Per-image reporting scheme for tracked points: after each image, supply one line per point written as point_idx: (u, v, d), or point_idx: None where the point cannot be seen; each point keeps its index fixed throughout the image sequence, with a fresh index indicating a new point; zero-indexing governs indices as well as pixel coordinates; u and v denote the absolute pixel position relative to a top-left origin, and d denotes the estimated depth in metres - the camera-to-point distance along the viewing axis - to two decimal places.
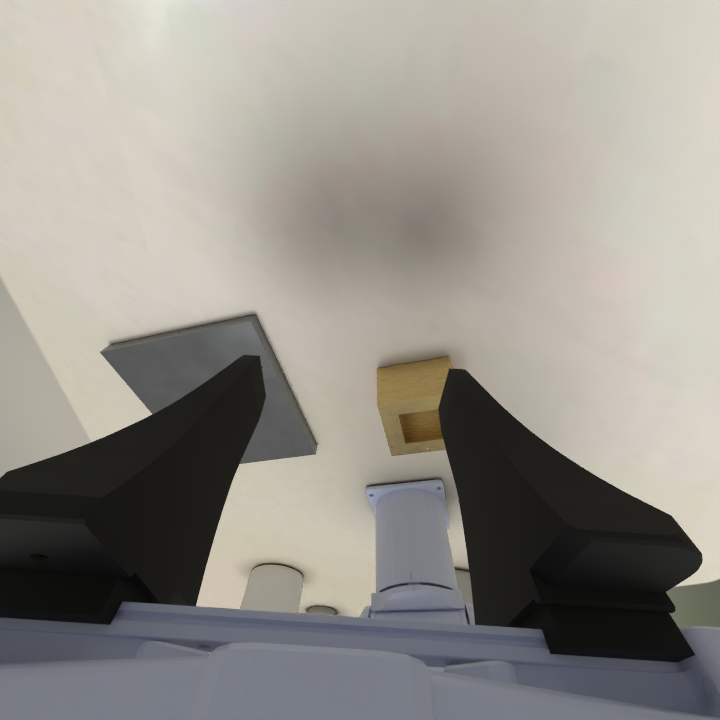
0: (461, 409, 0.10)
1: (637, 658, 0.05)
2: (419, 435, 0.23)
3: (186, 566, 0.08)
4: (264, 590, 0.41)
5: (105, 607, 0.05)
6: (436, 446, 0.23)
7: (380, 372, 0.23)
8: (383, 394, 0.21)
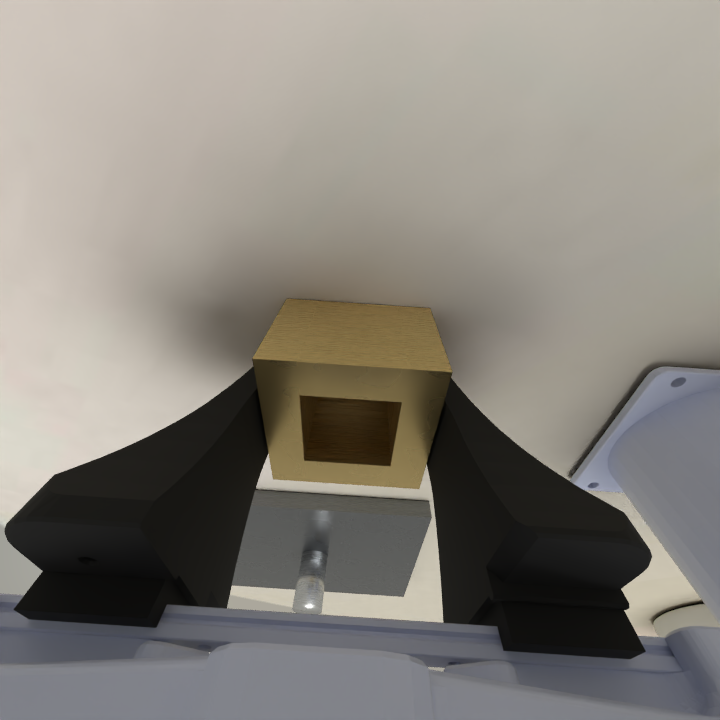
0: None
1: (591, 656, 0.05)
2: (393, 431, 0.11)
3: (220, 568, 0.08)
4: None
5: (152, 610, 0.05)
6: (423, 422, 0.09)
7: None
8: None
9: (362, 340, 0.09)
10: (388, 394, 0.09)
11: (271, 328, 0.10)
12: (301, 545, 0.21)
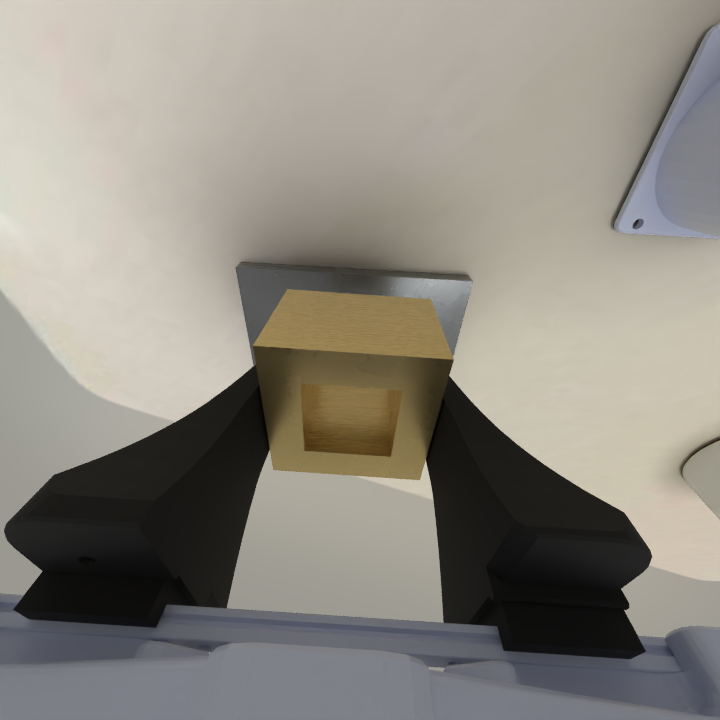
0: None
1: (591, 656, 0.05)
2: (394, 421, 0.11)
3: (219, 568, 0.08)
4: None
5: (152, 610, 0.05)
6: (423, 411, 0.09)
7: None
8: None
9: (363, 329, 0.09)
10: (389, 382, 0.09)
11: (272, 317, 0.10)
12: None
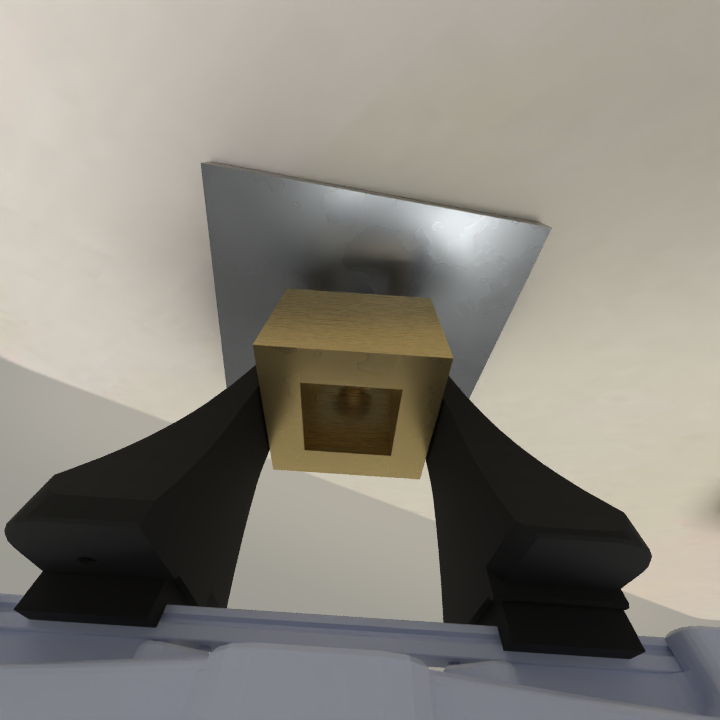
0: None
1: (591, 655, 0.05)
2: (394, 420, 0.11)
3: (219, 568, 0.08)
4: None
5: (152, 610, 0.05)
6: (423, 410, 0.09)
7: None
8: None
9: (363, 328, 0.09)
10: (389, 381, 0.09)
11: (271, 316, 0.10)
12: None
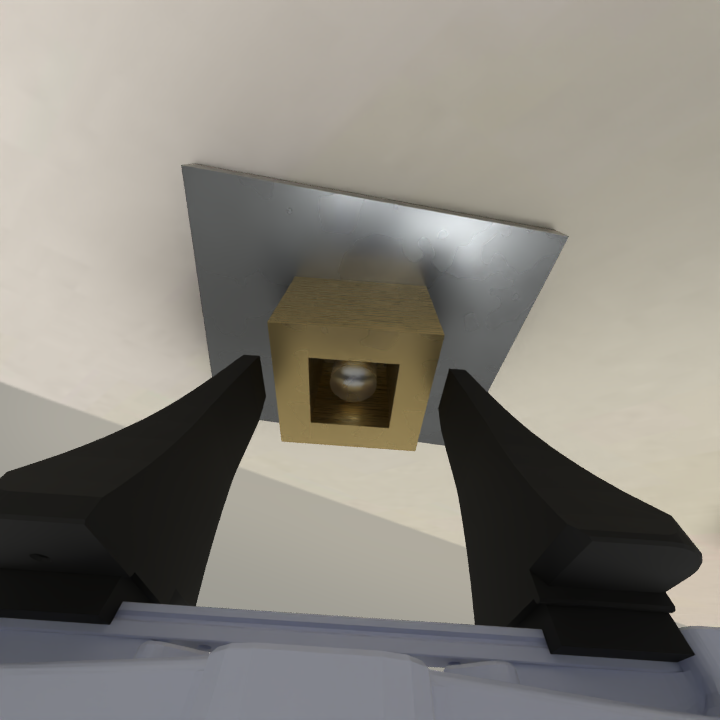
0: (461, 410, 0.10)
1: (638, 659, 0.05)
2: (392, 395, 0.12)
3: (186, 566, 0.08)
4: None
5: (105, 607, 0.05)
6: (418, 384, 0.11)
7: None
8: None
9: (365, 310, 0.10)
10: (387, 356, 0.10)
11: (282, 299, 0.11)
12: None
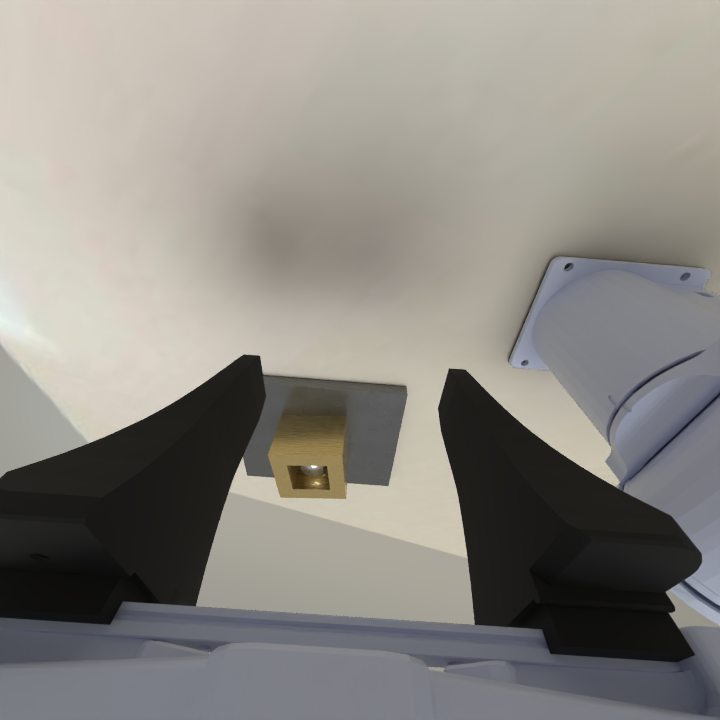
0: (461, 409, 0.10)
1: (638, 659, 0.05)
2: None
3: (186, 566, 0.08)
4: None
5: (105, 607, 0.05)
6: (337, 472, 0.23)
7: None
8: None
9: (311, 441, 0.23)
10: (320, 463, 0.23)
11: (274, 436, 0.24)
12: None
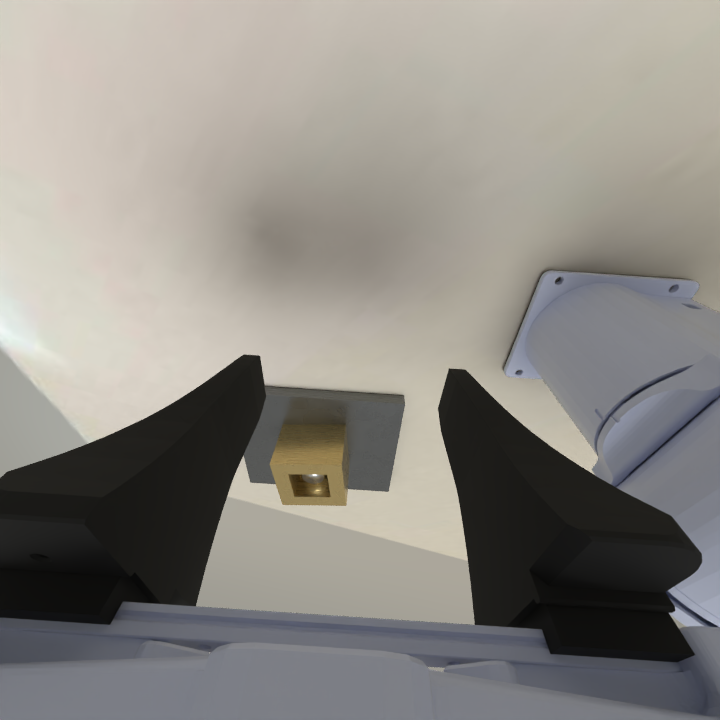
0: (461, 410, 0.10)
1: (638, 658, 0.05)
2: None
3: (186, 566, 0.08)
4: None
5: (105, 607, 0.05)
6: (337, 480, 0.24)
7: None
8: None
9: (311, 450, 0.24)
10: (321, 472, 0.23)
11: (276, 446, 0.24)
12: None
